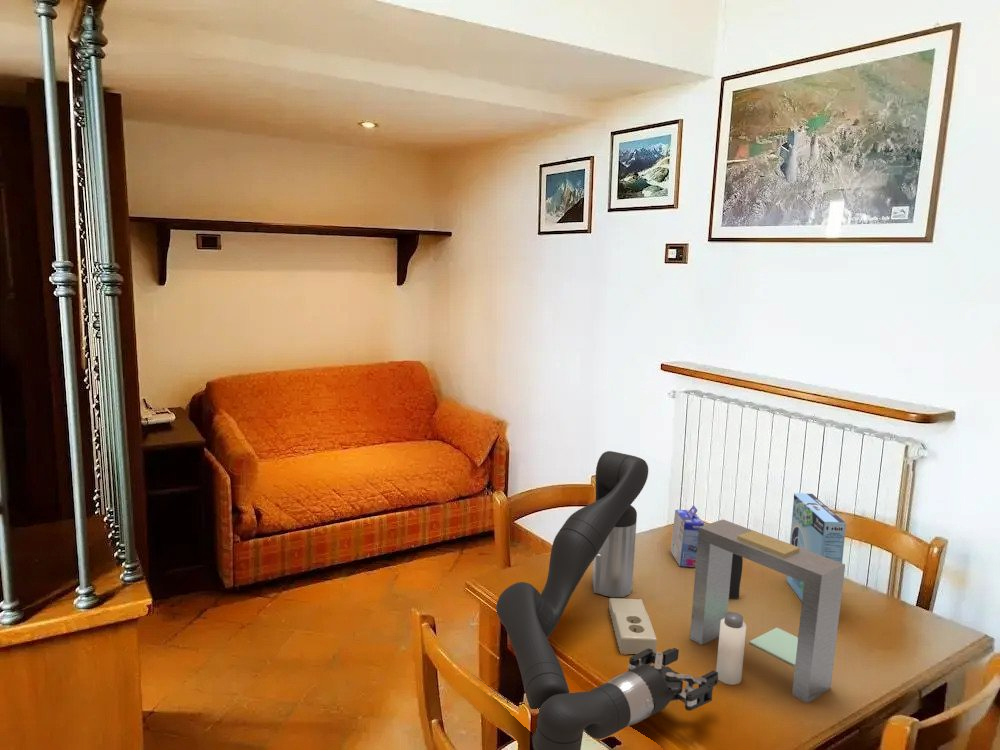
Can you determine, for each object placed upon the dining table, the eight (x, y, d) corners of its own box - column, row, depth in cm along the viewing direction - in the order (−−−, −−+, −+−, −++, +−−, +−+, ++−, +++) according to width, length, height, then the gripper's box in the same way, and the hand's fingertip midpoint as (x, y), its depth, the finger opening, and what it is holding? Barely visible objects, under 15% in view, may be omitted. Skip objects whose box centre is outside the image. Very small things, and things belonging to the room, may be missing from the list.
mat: (794, 666, 137) (794, 664, 137) (749, 643, 145) (749, 641, 145) (821, 650, 143) (821, 648, 143) (776, 629, 151) (776, 627, 151)
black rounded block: (735, 591, 168) (739, 546, 166) (740, 599, 164) (744, 553, 162) (706, 590, 168) (709, 545, 166) (710, 597, 164) (713, 551, 162)
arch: (807, 703, 126) (822, 572, 122) (689, 638, 146) (699, 524, 142) (830, 688, 130) (845, 561, 126) (713, 627, 151) (723, 516, 147)
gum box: (836, 621, 155) (848, 523, 152) (812, 619, 156) (823, 521, 152) (805, 581, 174) (814, 493, 171) (784, 580, 175) (793, 492, 171)
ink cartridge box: (701, 568, 180) (705, 514, 178) (679, 567, 180) (683, 514, 178) (690, 552, 190) (694, 501, 188) (670, 551, 190) (674, 500, 188)
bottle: (719, 683, 131) (724, 621, 129) (713, 669, 135) (718, 609, 133) (744, 685, 131) (750, 623, 129) (737, 671, 135) (743, 610, 133)
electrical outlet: (642, 595, 157) (657, 638, 139) (640, 612, 157) (656, 657, 140) (609, 594, 157) (621, 637, 139) (608, 611, 158) (619, 656, 140)
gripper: (601, 694, 122) (663, 664, 132) (666, 740, 111) (728, 704, 121) (604, 654, 121) (666, 627, 131) (669, 697, 110) (732, 664, 119)
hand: (696, 664), depth 126 cm, fingers open, 8 cm apart
